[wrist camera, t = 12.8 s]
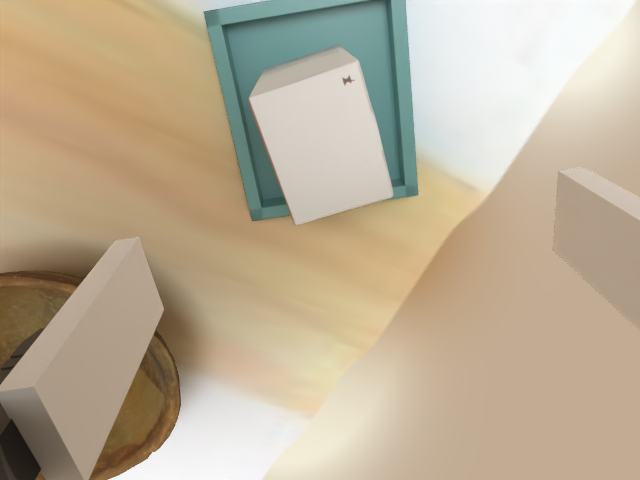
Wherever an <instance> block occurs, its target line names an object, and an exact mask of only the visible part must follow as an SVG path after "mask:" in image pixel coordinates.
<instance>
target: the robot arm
mask: <svg viewBox="0 0 640 480" xmlns="http://www.w3.org/2000/svg"><path fill="white" fill-rule="evenodd" d="M553 239H554V240H553V251H554V252H555V253H556V254H557V255H559V256H560V257H561V258H562V259H563V260H564V261H565V262H566V263H567V264H568V265H570V267H572V268H573V269H574V270H575V271H576V272H577V273H578V274H579V275H580V276H581V277H582V278H583V279H584V280H585V281H587V282H588V283H589V284H590V285H591V286H592V287H593V288H594V289H595V290H596V291H597V292H598V293H599V294H600V295H602V296H603V297H604V298H605V299H606V300H607V301H608V302H609V303H610V304H611V305H612V306H613V307H614V308H616V309H617V310H618V311H619V312H620V313H621V314H622V315H623V316H624V317H625V318H626V319H627V320H628V321H630V322H631V323H632V324H633V325H634V326H635V327H636V328H637V329H638V330H639V331H640V197H638V196H636V195H634V194H632V193H631V192H629V191H627V190H625V189H623V188H621V187H620V186H618V185H616V184H614V183H612V182H610V181H608V180H607V179H605V178H603V177H601V176H599V175H597V174H595V173H594V172H592V171H590V170H588V169H586V168H584V167H579V168H573V169H566V170H560V171H558V181H557V195H556V209H555V225H554V238H553ZM163 311H164V307H163V304H162V301H161V299H160V296H159V293H158V290H157V287H156V284H155V281H154V279H153V276H152V273H151V270H150V267H149V264H148V261H147V259H146V256H145V253H144V250H143V247H142V244H141V242H140V239H139V237H134V238H128V239H121V240H115V241H114V242H113V244H112V245H111V246H110V247H109V249H108V250H107V251H106V252H105V254H104V255H103V256H102V257H101V259H100V260H99V261H98V262H97V264H96V265H95V266H94V267H93V269H92V270H91V271H90V273H89V274H88V275H87V276H86V278H85V279H84V280H83V281H82V283H81V284H80V285H79V286H78V288H77V289H76V290H75V291H74V293H73V294H72V295H71V296H70V298H69V299H68V300H67V301H66V303H65V304H64V305H63V306H62V308H61V309H60V310H59V312H58V313H57V314H56V315H55V317H54V318H53V319H52V320H51V322H50V323H49V324H48V325H47V327H46V328H40V329H39V330H37V331H36V332H35V333H34V334H32V335H31V336H30V337H28V338H27V339H26V340H24V341H23V342H22V343H21V344H20V345H19V346H18V348H17V349H16V350H15V351H14V352H13V354H12V355H11V356H10V359H8V360H7V361H6V362H5V363H4V364H3V366H2V367H1V368H0V369H1V371H0V480H35V479H36V478H37V476H38V474H39V472H40V471H41V473H42V474H43V476H44V478H45V479H46V480H89V478H90V476H91V474H92V471H93V469H94V467H95V465H96V462H97V460H98V458H99V456H100V453H101V451H102V449H103V447H104V444H105V442H106V440H107V438H108V435H109V433H110V431H111V429H112V426H113V424H114V422H115V420H116V417H117V415H118V413H119V411H120V408H121V406H122V404H123V402H124V399H125V397H126V395H127V393H128V390H129V388H130V386H131V384H132V381H133V379H134V377H135V375H136V372H137V370H138V368H139V366H140V363H141V361H142V359H143V357H144V354H145V352H146V350H147V348H148V345H149V343H150V341H151V339H152V336H153V334H154V332H155V329H156V327H157V325H158V323H159V320H160V318H161V316H162V314H163Z"/></svg>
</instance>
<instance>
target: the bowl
mask: <svg viewBox="0 0 640 480" xmlns="http://www.w3.org/2000/svg"><path fill="white" fill-rule="evenodd" d="M83 280H84V279H81V278H76V277H72V276H69V275H65V274H60V273H55V272H48V271H20V272H7V273H0V368H1V367H2V366H3V364H4V363H5V362H6V361H7V360H8V359H10V356H11V355H12V354H13V352H14V351H15V350H16V349H17V348H18V346H19V345H20V344H21V343H22V342H23V341H24V340H26V339H27V338H28V337H30V336H31V335H32V334H34V333H35V332H36V331H37V330H39V329H40V328H46V327H47V325H48V324H49V323H50V322H51V320H52V319H53V318H54V317H55V315H56V314H57V313H58V312H59V310H60V309H61V308H62V306H63V305H64V304H65V303H66V301H67V300H68V299H69V298H70V296H71V295H72V294H73V293H74V291H75V290H76V289H77V288H78V286H79V285H80V284H81V283H82V281H83ZM0 371H1V369H0ZM179 388H180V386H179V376H178V372H177V368H176V365H175V361H174V358H173V356H172V354H171V352H170V351H169V349H168V347H167V345H166V343H165V342H164V340H163V339H162V337H161V336H160V335H159V333H158V332H157V331H156V330H155V332H154V334H153V336H152V339H151V341H150V343H149V345H148V348H147V350H146V352H145V354H144V357H143V359H142V361H141V363H140V366H139V368H138V370H137V372H136V375H135V377H134V379H133V381H132V384H131V386H130V388H129V390H128V393H127V395H126V397H125V399H124V402H123V404H122V406H121V408H120V411H119V413H118V415H117V417H116V420H115V422H114V424H113V426H112V429H111V431H110V433H109V435H108V438H107V440H106V442H105V444H104V447H103V449H102V451H101V453H100V456H99V458H98V460H97V462H96V465H95V467H94V469H93V471H92V474H91V476H90V478H89V480H108V479H110V478H113V477H115V476H118V475H120V474H122V473H124V472H125V471H127V470H129V469H130V468H132V467H134V466H135V465H137V464H139V463H141V462H143V461H144V460H146V459H148V457H149V456H150V454H151V453H152V452H155V451H157V450H158V449H159V448H160V447H161V446H162V444H163V443H164V442H165V441H166V439H167V438H168V437H169V436H170V434H171V432H172V430H173V429H174V426H175V423H176V421H177V419H178V415H179V411H180V406H181V398H180V389H179ZM35 480H46V479H45V478H44V476H43V474H42V473H41V471H40V472H39V474H38V476H37V478H36V479H35Z"/></svg>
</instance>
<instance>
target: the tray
mask: <svg viewBox="0 0 640 480" xmlns="http://www.w3.org/2000/svg"><path fill="white" fill-rule="evenodd" d="M204 15H205V20H206V24H207V28H208V33H209V37H210V41H211V46H212V50H213V54H214V59H215V63H216V67H217V72H218V76H219V80H220V85H221V89H222V93H223V97H224V102H225V106H226V110H227V115H228V119H229V123H230V128H231V132H232V136H233V141H234V145H235V149H236V154H237V158H238V162H239V167H240V171H241V175H242V180H243V184H244V188H245V193H246V197H247V201H248V206H249V210H250V214H251V219H252V221H256V220H263V219H269V218H276V217H282V216H288V215H291V214H290V212H289V209H288V206H287V204H286V201H285V198H284V195H283V193H282V190H281V188H280V185H279V182H278V180H277V177H276V175H275V172H274V169H273V166H272V164H271V161H270V158H269V156H268V153H267V150H266V148H265V145H264V142H263V140H262V137H261V134H260V132H259V129H258V126H257V123H256V121H255V118H254V115H253V113H252V110H251V107H250V104H249V101H248V98H249V96H250V95H251V93H252V91H253V89H254V87H255V85H256V83H257V81H258V79H259V77H260V76H261V74H262V72H263V70H265V69H268V68H270V67H273V66H276V65H279V64H282V63H285V62H289V61H291V60H294V59H297V58H300V57H303V56H306V55H309V54H312V53H315V52H318V51H321V50H324V49H327V48H330V47H333V46H336V45H340V46H341V47H343V48H344V49H345V50H346V51H348V52H349V53H350V54H351V55H353V56H354V57H355V58H356V59H358V60H359V63H360V66H361V70H362V73H363V77H364V80H365V84H366V88H367V92H368V95H369V99H370V103H371V106H372V109H373V112H374V115H375V118H376V122H377V126H378V130H379V134H380V138H381V143H382V147H383V151H384V155H385V159H386V164H387V168H388V172H389V176H390V180H391V184H392V188H393V194H394V195H393V197H392V198H390V199H397V198H403V197H409V196H416V195H418V184H417V168H416V153H415V138H414V123H413V108H412V93H411V78H410V63H409V48H408V33H407V18H406V3H405V0H270V1H264V2H258V3H252V4H246V5H240V6H234V7H228V8H222V9H216V10H210V11H205V12H204ZM390 199H386V200H390ZM382 201H384V200H382Z"/></svg>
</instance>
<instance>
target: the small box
mask: <svg viewBox="0 0 640 480" xmlns="http://www.w3.org/2000/svg"><path fill="white" fill-rule="evenodd" d="M248 101H249V104H250V107H251V110H252V113H253V115H254V118H255V121H256V123H257V126H258V129H259V132H260V134H261V137H262V140H263V142H264V145H265V148H266V150H267V153H268V156H269V158H270V161H271V164H272V166H273V169H274V172H275V175H276V177H277V180H278V182H279V185H280V188H281V190H282V193H283V195H284V198H285V201H286V204H287V206H288V209H289V212H290V214H291V217H292V219H293V222H294V225H300V224H303V223H307V222H310V221H313V220H317V219H320V218H324V217H327V216H331V215H334V214H337V213H341V212H344V211H348V210H351V209H355V208H358V207H362V206H365V205H369V204H372V203H376V202H379V201H382V200H386V199H390V198H392V197H393V195H394V194H393V188H392V184H391V180H390V176H389V172H388V168H387V164H386V159H385V155H384V151H383V147H382V143H381V138H380V134H379V130H378V126H377V122H376V118H375V115H374V112H373V109H372V106H371V103H370V99H369V95H368V92H367V88H366V84H365V80H364V77H363V73H362V70H361V66H360V63H359V60H358V59H356V58H355V57H354V56H353V55H351V54H350V53H349V52H348V51H346V50H345V49H344V48H343V47H341V46H340V45H336V46H333V47H330V48H327V49H324V50H321V51H318V52H315V53H312V54H309V55H306V56H303V57H300V58H297V59H294V60H291V61H289V62H285V63H282V64H279V65H276V66H273V67H270V68H268V69H265V70H263V72H262V74H261V76H260V77H259V79H258V81H257V83H256V85H255V87H254V89H253V91H252V93H251V95H250V96H249V98H248Z"/></svg>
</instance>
